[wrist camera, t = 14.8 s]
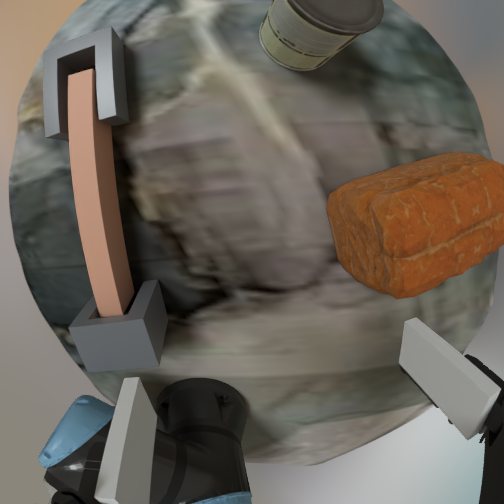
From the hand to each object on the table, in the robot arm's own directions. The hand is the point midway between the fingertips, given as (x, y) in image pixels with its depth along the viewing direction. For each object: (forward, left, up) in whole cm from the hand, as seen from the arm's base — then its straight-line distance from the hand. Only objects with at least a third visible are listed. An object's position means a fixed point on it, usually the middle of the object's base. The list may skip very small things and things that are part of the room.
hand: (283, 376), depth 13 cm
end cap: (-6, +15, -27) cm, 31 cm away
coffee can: (+26, -12, -27) cm, 39 cm away
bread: (+1, -26, -27) cm, 38 cm away
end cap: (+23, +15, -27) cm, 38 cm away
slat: (+9, +15, -27) cm, 32 cm away
